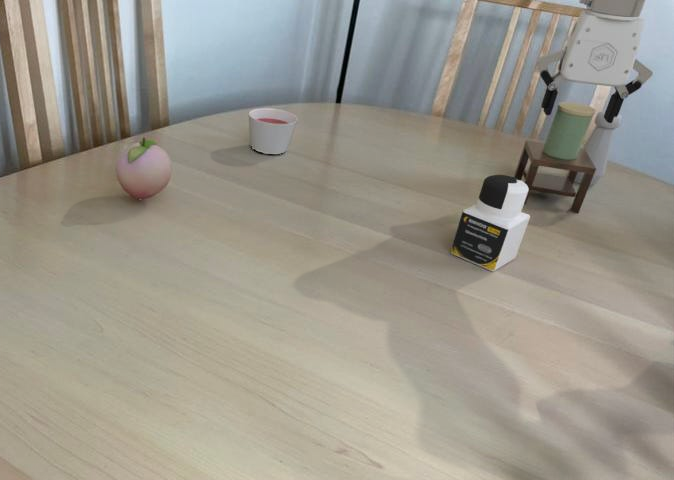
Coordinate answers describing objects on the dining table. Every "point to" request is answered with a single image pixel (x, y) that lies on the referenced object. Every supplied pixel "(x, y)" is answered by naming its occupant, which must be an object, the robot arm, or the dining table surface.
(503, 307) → the dining table surface
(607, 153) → the salt shaker
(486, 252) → the medicine bottle
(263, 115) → the candle
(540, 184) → the stand
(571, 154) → the tea tin
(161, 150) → the decorative fruit
